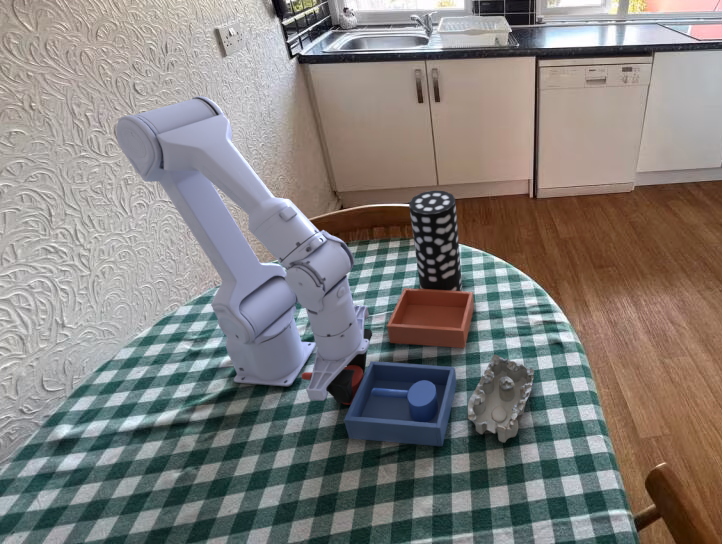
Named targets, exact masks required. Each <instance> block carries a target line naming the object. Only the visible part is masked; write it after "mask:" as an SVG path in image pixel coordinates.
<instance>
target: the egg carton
mask: <svg viewBox="0 0 722 544" xmlns="http://www.w3.org/2000/svg"><path fill="white" fill-rule="evenodd" d="M534 373H535V370H534V369H533V368H532V367H530V368H529V367H526V366H525V365H524V364H523V363H517V361H514V360H511V359H509V358H503V357H502V356H500V355H497V354H493V356H492V357H491V359H490V361H489V363H488V365H487V368H486V369H485V370H484V374H482V375H481V377H480V380H479V382H478V383H477V385H476V387H475V389H474V391H473V392H472V395H471V396H470V398H469V400H468V402H467V419H468V420H469V421H471V422H472V423H473V424H474V425H475V431H476V432H477V433H478V434H480V435H483V434H484V433H485V432H486V431H489V432H491V433H493V434H496V433H497V438H498V441H499V442H501V443H503V444H504V443H506V441H507V440H508V439H510V438H515V437H516V436H517V434H518V432H519V431H518V430H519V427H520V426H519V421H518V419H517V418H518V416H520V415H524V413H525V409H526V402H527V400H528V398H529V397H530V394H531V393H532V388H533V381H534V378H535V376H534Z"/></svg>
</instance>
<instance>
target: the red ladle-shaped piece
mask: <svg viewBox="0 0 722 544" xmlns="http://www.w3.org/2000/svg"><path fill="white" fill-rule="evenodd" d="M344 369H347V370H355V372H354V374H353V377H352V392H353V397H352V400H351V402H350V403H342V404H343V405H347V406H351V403H352V401H353V399H354V397H355V395H356V392H357V390H358V388H359V386H360V384H361V381H362V379H363V377H364V375H365V373H364V374H363V370H362V368H361V367H359V366H357V365H349V366H346V367H345V368H344ZM311 374H312V372H309V371H304V372H302V374H301V375H300V376H301V379H302V380H305V381H311V379H310V376H311Z"/></svg>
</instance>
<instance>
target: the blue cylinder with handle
mask: <svg viewBox="0 0 722 544" xmlns="http://www.w3.org/2000/svg"><path fill="white" fill-rule="evenodd" d="M371 394H372V395H373V396H381V397H394V398H406V399H408V404H409V409H410V415H411V417H412V419H413V420H414V421H416V422H427V421H429V420H431V419H432V418H433V417H434V416H435V415H436V413H437V410H438V402H437V395H436V388H435V386H434V384H433V383H432V382H430V381H426V380H423V381H419V382H416V383H415V384H413V385H412V386H411V388H410V389H409V391H407V390H394V389H382V388H373V389H372V391H371Z"/></svg>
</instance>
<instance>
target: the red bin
mask: <svg viewBox="0 0 722 544" xmlns="http://www.w3.org/2000/svg"><path fill="white" fill-rule="evenodd" d="M474 301H475V300H474V292H473V291H465V290H460V291H448V290H431V289H420V288H410V287H404V288H403V290H402V292H401V294H400V296H399V298H398V301H397V303H396V305H395V307H394V309H393V312H392V313H391V316H390V318H389V320H388V323H387V324H386V330H387V335H388V341H389V343H390V344H399V345H416V346H429V347H444V348H458V349H459V348H460V349H465V348H466V344H467V340H468V336H469V332H470V328H471V324H472V323H471V322H472V318H473V314H474V309H475V304H474Z"/></svg>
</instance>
